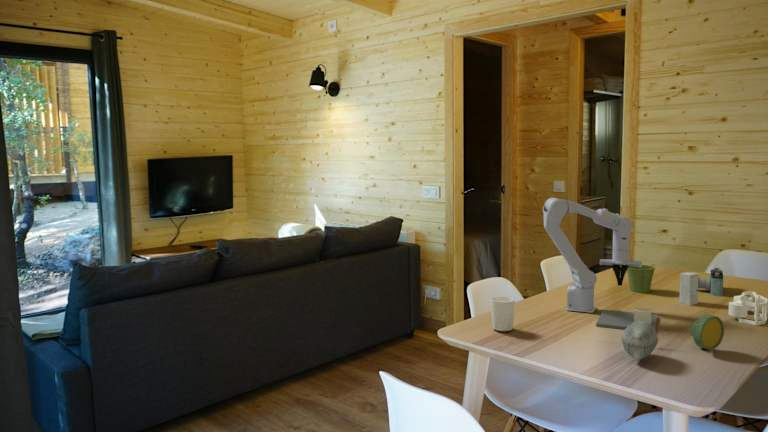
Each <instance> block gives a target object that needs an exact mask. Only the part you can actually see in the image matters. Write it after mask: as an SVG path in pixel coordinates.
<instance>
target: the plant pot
mask: <svg viewBox="0 0 768 432" xmlns="http://www.w3.org/2000/svg"><path fill="white" fill-rule="evenodd" d="M656 268H657V267H656V266H653V265H648V264H642V268H641V267H631V266H628V269H627V271H626V273H627V276H628V284H629V290H630V291H631V293H637V294H649V293H650V292H651V286H652V281H653V276H654V273H655V269H656Z"/></svg>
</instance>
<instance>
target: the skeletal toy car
mask: <svg viewBox="0 0 768 432" xmlns="http://www.w3.org/2000/svg"><path fill="white" fill-rule="evenodd" d="M754 300H755V301H754ZM760 308H761V312H760ZM749 311H751V312H752V313H753V314H754V315H753V316H754V317H753V318H754V320H749V319H745V318H746V317H748V315H749V314H748V313H749ZM728 316H731V317H734V318H737V320H738V322H739V323H742V324H743V323H744V324H748V325H753V326H761V325H765V324H766V323H767V320H768V298H767V297H764V296H763V295H760V294H757V292H756V291H743V292H742V293H741V294H740V295H734V296H733V301H730V302H728Z"/></svg>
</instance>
